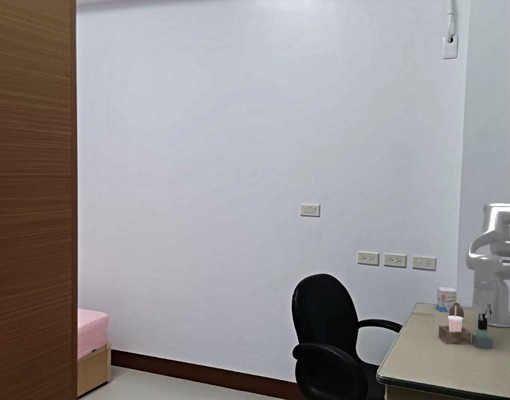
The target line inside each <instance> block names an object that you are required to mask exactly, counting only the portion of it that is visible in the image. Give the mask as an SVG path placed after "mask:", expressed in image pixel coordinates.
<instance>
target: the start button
mask: <svg viewBox="0 0 510 400" xmlns="http://www.w3.org/2000/svg"><path fill="white" fill-rule="evenodd" d="M475 334H476V336H477V337H479V338H489V337H490V331H488V329H487V330H480V329H478V328H476V329H475Z"/></svg>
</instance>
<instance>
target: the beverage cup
mask: <svg viewBox="0 0 510 400" xmlns="http://www.w3.org/2000/svg"><path fill="white" fill-rule="evenodd" d="M447 320H448V326H449V331H453V332H461V329H462V326H463V321H464V317H463V318H462V317H459V316H456V306H455V316H449V315H448V316H447Z"/></svg>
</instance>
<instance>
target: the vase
mask: <svg viewBox="0 0 510 400" xmlns="http://www.w3.org/2000/svg"><path fill="white" fill-rule="evenodd" d="M455 306H456V316H459V317H462V318H463V319H464V318H465V316H464V315H465V311H464V308H463V307H462V305H461V304H460V303H458V302H456V303H454V304H453V306H452V307H451V308H450V310H449V312H448V316H455Z"/></svg>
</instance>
